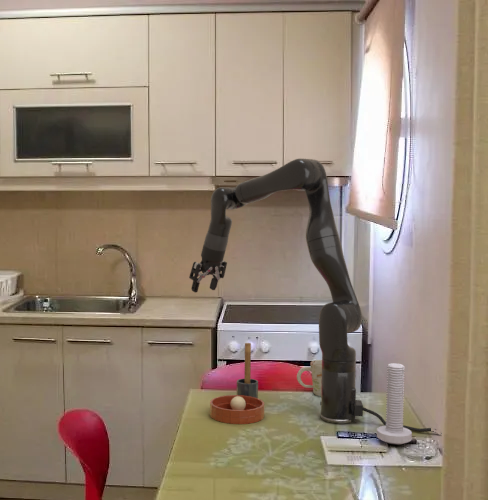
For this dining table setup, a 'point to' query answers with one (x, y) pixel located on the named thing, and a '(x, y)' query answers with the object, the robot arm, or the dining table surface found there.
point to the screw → (395, 408)
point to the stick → (247, 363)
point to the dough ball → (238, 403)
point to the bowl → (226, 414)
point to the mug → (313, 376)
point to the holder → (247, 388)
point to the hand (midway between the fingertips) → (203, 290)
